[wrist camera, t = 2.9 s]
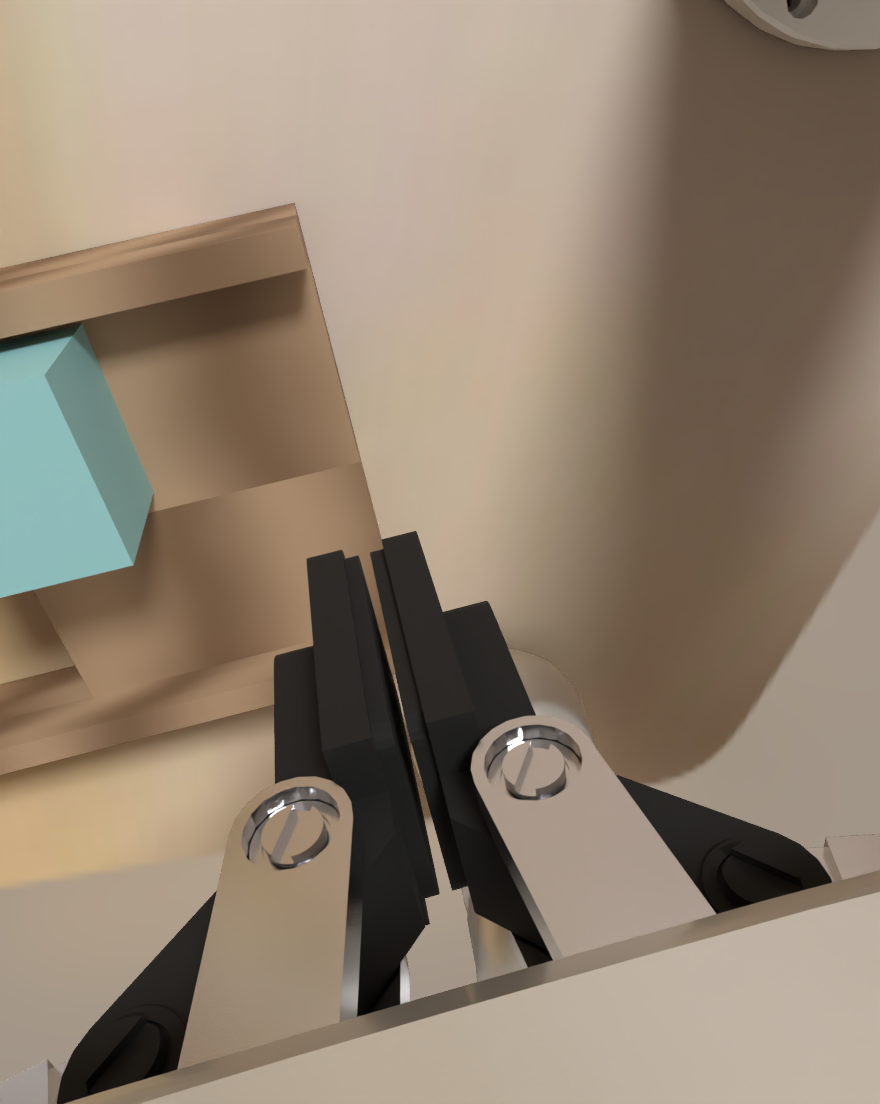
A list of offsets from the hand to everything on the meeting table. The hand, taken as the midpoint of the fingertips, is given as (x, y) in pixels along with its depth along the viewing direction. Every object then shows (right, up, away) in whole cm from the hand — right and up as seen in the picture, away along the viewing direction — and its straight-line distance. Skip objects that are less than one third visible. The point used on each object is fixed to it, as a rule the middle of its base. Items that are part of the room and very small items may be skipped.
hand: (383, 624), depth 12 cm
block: (-10, +4, +10) cm, 15 cm away
